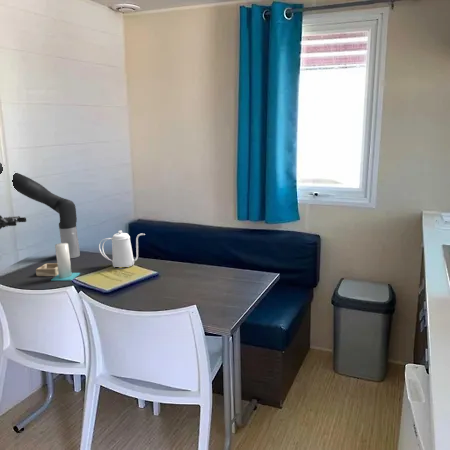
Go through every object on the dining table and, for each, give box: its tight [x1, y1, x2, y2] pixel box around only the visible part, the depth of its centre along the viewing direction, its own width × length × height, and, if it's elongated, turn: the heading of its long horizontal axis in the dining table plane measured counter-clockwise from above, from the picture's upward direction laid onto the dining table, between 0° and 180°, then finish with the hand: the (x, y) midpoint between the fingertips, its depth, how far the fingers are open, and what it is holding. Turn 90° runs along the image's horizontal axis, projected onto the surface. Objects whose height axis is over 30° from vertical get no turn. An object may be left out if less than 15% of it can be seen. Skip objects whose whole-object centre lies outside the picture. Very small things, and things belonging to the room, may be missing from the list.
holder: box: [35, 262, 59, 277], centre depth 230 cm, size 10×10×4 cm
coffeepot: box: [98, 230, 146, 268], centre depth 234 cm, size 11×25×19 cm, turn 84°
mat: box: [51, 272, 81, 282], centre depth 222 cm, size 10×10×1 cm
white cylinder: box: [54, 242, 73, 278], centre depth 220 cm, size 6×6×16 cm
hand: (21, 221), depth 220 cm, fingers open, 8 cm apart
